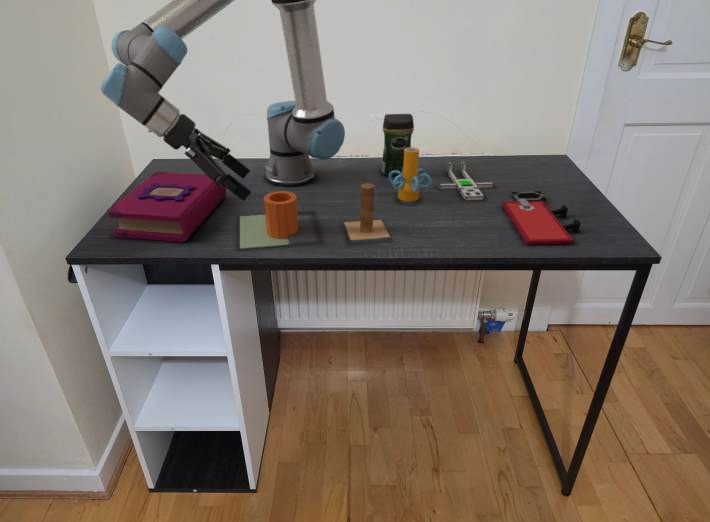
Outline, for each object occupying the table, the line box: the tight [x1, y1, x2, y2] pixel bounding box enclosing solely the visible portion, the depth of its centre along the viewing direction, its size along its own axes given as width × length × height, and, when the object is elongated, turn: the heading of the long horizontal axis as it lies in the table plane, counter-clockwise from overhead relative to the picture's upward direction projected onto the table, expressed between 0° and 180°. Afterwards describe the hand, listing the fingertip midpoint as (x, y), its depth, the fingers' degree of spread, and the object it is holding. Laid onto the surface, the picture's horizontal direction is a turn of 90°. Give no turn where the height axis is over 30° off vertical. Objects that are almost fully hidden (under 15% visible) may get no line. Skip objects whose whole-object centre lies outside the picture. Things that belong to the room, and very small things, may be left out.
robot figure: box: [438, 161, 495, 201], centre depth 158 cm, size 16×3×22 cm
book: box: [106, 171, 227, 243], centre depth 140 cm, size 21×28×8 cm
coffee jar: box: [380, 113, 415, 177], centre depth 163 cm, size 10×8×19 cm
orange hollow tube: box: [263, 190, 299, 239], centre depth 131 cm, size 8×8×10 cm
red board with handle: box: [501, 190, 581, 246], centre depth 139 cm, size 30×3×15 cm
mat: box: [239, 214, 290, 250], centre depth 135 cm, size 18×20×1 cm
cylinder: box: [387, 146, 432, 202], centre depth 146 cm, size 12×10×15 cm
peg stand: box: [343, 182, 391, 241], centre depth 129 cm, size 10×10×13 cm
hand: (247, 185), depth 125 cm, fingers open, 13 cm apart
